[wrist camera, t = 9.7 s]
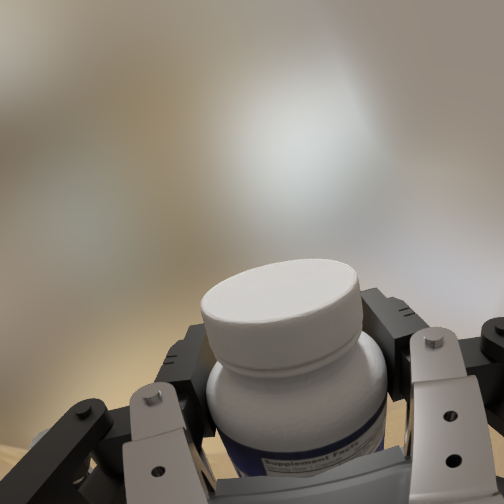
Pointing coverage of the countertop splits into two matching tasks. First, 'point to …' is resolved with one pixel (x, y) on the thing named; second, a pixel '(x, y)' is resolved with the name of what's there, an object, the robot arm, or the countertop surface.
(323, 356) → the pill bottle
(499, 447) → the countertop surface
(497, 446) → the countertop surface
